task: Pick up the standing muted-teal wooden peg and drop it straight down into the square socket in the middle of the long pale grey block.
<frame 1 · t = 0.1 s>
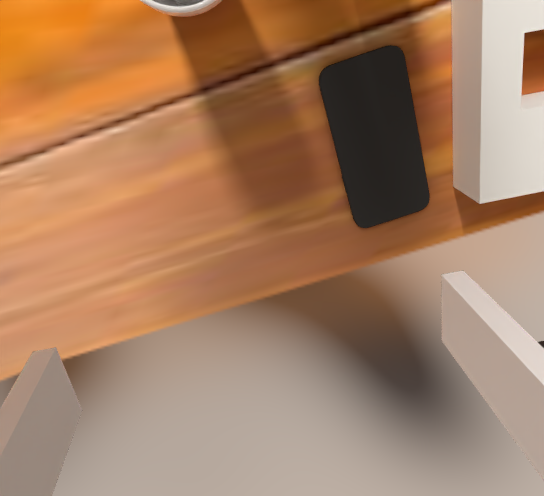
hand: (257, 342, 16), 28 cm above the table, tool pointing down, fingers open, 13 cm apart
phone: (374, 141, 43), on the table
socket block: (520, 62, 41), on the table
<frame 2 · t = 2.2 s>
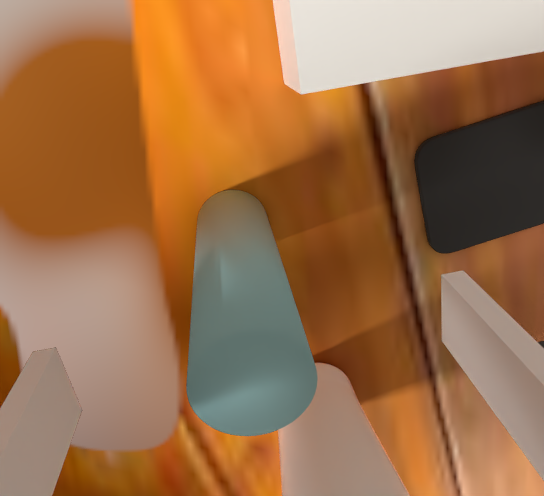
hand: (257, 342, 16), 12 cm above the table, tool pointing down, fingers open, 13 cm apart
drinking glass: (310, 388, 33), on the table
teal peg: (232, 223, 27), on the table
phone: (537, 161, 29), on the table
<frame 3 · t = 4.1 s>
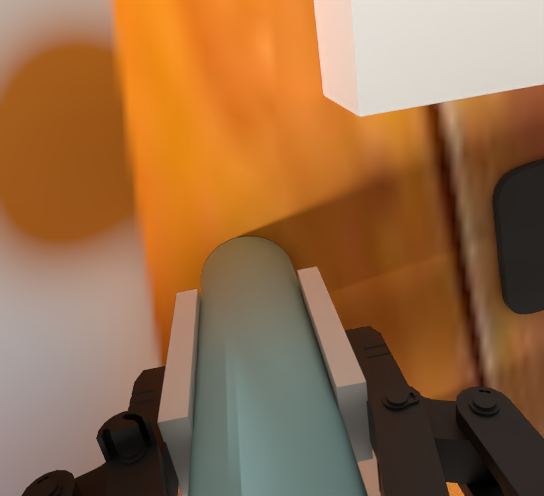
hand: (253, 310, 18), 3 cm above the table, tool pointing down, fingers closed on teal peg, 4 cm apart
drinking glass: (344, 473, 26), on the table
teal peg: (248, 279, 21), on the table, touching gripper
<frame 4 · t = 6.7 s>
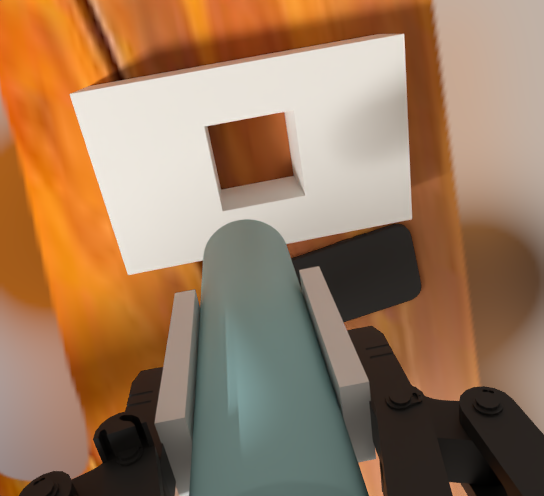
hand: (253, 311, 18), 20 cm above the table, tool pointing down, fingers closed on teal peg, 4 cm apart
teal peg: (246, 259, 23), point 15 cm above the table, touching gripper
phone: (328, 283, 41), on the table
socket block: (250, 146, 35), on the table
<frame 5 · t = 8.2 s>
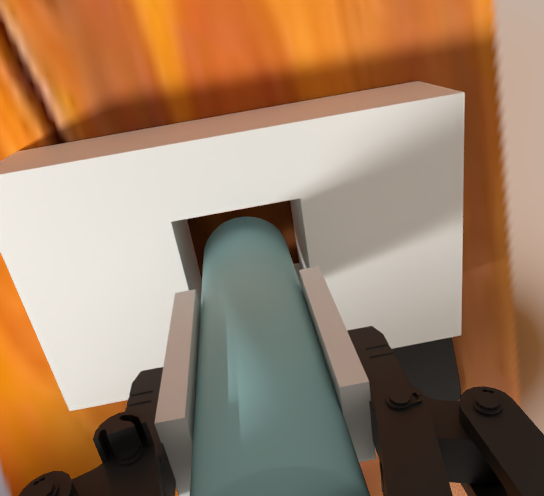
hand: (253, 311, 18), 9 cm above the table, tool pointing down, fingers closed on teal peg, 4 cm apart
teal peg: (246, 256, 23), point 4 cm above the table, touching gripper
phone: (341, 387, 32), on the table
socket block: (241, 227, 26), on the table
when the fingers open (7 cm above the table, at t = 9.5 s): teal peg drops 2 cm, resting in socket block.
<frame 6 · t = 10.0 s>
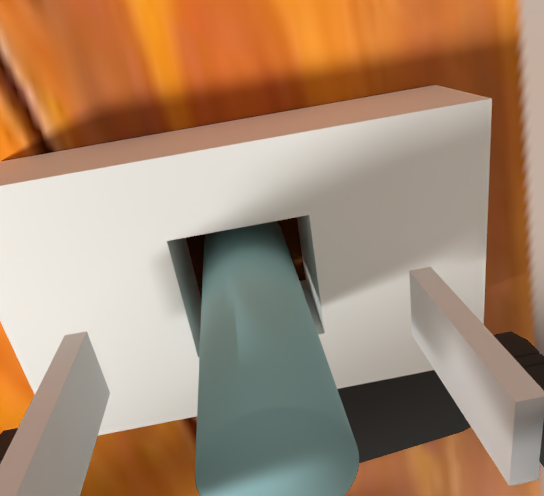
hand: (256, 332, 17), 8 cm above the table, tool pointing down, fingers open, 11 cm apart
teal peg: (244, 242, 24), resting in socket block
phone: (350, 409, 30), on the table
socket block: (244, 241, 24), on the table
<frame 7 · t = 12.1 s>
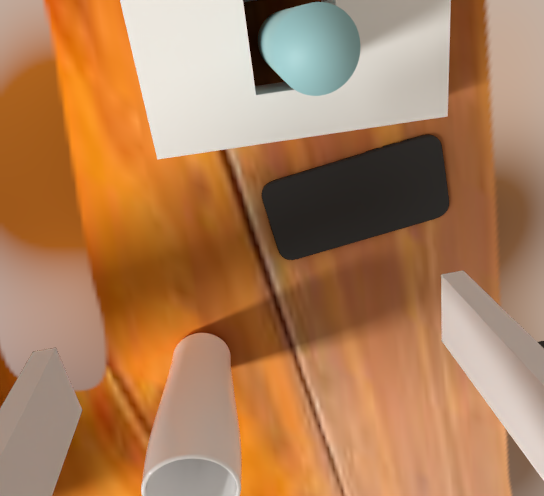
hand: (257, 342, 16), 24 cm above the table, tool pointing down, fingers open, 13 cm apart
drinking glass: (202, 351, 46), on the table
teal peg: (285, 40, 35), resting in socket block
phone: (354, 196, 41), on the table
socket block: (285, 40, 35), on the table
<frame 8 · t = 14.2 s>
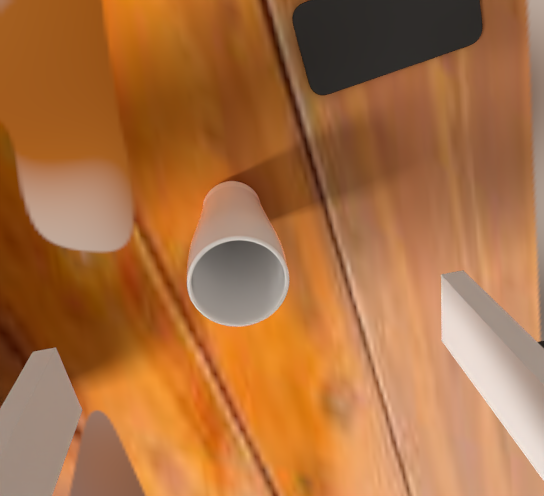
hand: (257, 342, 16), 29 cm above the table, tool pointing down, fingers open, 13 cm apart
drinking glass: (231, 206, 45), on the table
phone: (386, 24, 40), on the table
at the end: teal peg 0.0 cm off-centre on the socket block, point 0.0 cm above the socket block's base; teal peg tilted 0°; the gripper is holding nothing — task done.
